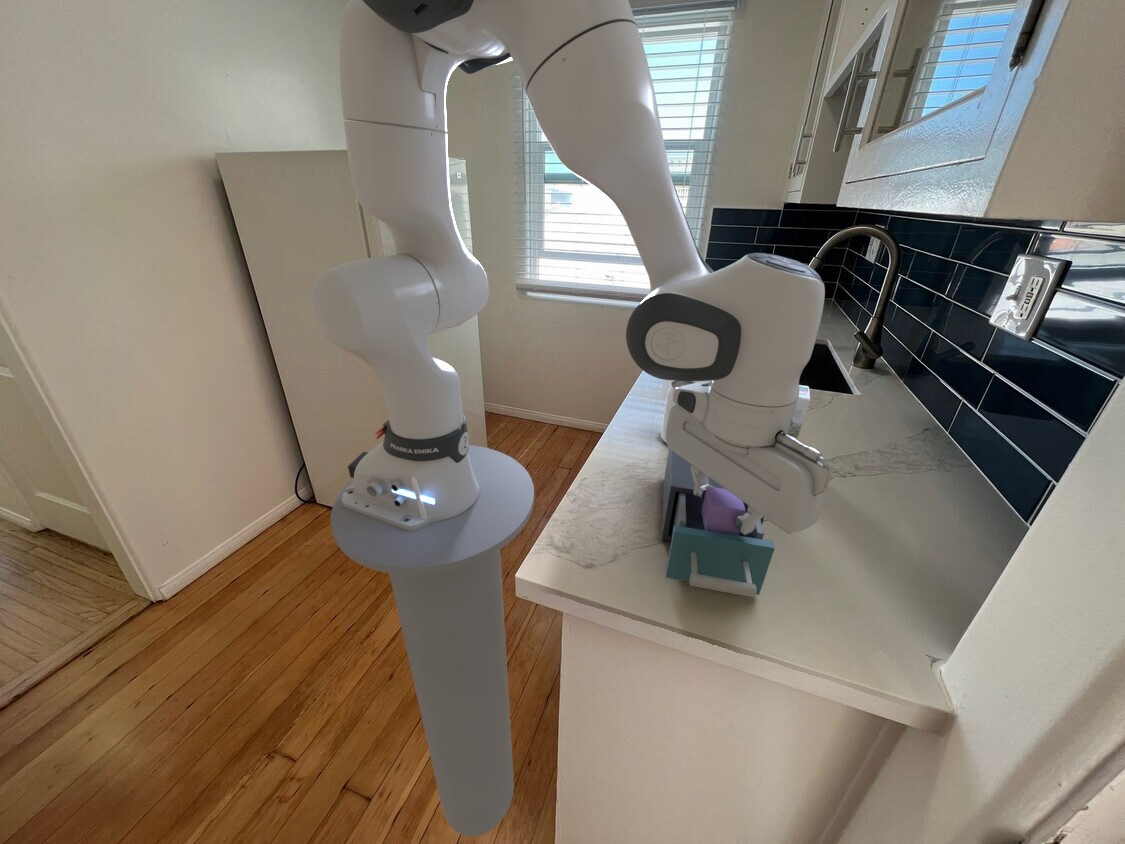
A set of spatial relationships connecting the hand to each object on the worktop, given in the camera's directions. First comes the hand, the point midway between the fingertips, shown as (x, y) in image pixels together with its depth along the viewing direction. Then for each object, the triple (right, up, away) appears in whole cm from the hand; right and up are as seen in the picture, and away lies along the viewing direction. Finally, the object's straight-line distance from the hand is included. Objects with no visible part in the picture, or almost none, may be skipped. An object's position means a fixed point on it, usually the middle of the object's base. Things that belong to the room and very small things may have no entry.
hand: (721, 512), depth 55 cm
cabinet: (+2, -3, +14) cm, 15 cm away
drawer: (0, -8, +5) cm, 9 cm away
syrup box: (+21, +4, +30) cm, 37 cm away
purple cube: (0, -2, +1) cm, 2 cm away
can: (+4, +7, +35) cm, 36 cm away
